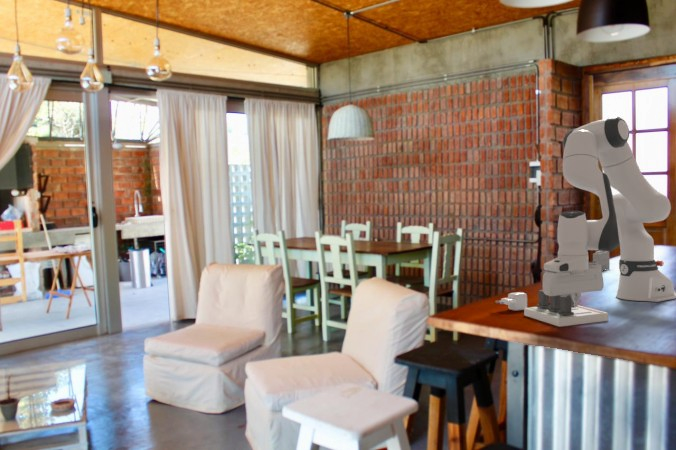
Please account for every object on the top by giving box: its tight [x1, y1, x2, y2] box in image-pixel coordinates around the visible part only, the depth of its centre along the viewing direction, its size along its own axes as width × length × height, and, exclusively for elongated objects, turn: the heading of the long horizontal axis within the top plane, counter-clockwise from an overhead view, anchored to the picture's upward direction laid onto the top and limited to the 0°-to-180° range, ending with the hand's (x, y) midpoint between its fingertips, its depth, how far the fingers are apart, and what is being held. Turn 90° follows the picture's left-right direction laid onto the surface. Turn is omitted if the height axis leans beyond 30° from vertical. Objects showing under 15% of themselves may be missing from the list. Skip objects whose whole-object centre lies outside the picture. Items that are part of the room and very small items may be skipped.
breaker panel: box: [523, 304, 609, 327], centre depth 189 cm, size 18×18×3 cm
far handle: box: [536, 289, 550, 309], centre depth 194 cm, size 3×3×6 cm
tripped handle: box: [558, 296, 574, 316], centre depth 182 cm, size 3×3×6 cm
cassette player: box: [592, 250, 611, 272], centre depth 288 cm, size 16×3×10 cm, turn 138°
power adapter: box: [495, 291, 528, 311], centre depth 204 cm, size 11×5×6 cm, turn 111°
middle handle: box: [548, 295, 561, 312], centre depth 188 cm, size 3×3×6 cm
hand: (573, 307), depth 183 cm, fingers closed
